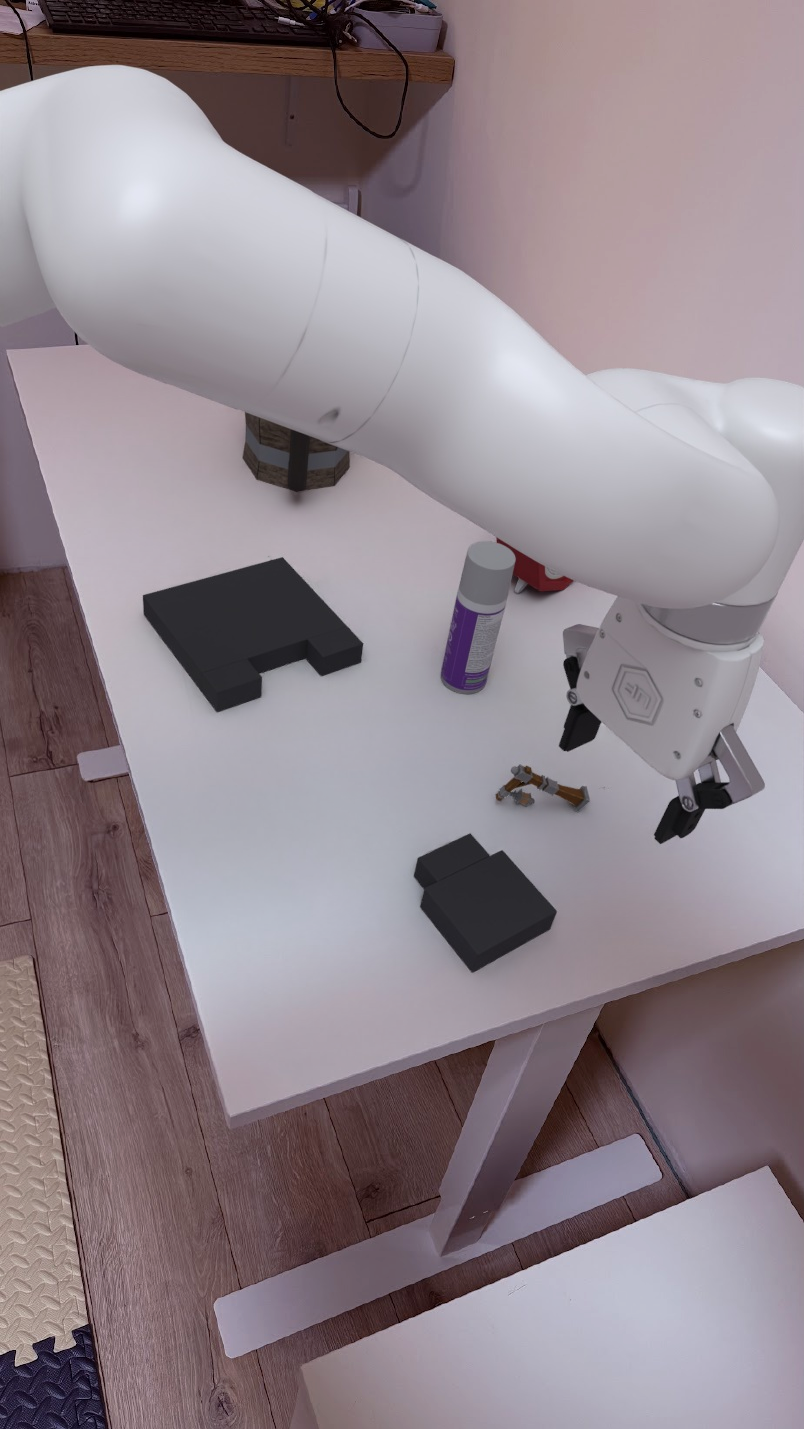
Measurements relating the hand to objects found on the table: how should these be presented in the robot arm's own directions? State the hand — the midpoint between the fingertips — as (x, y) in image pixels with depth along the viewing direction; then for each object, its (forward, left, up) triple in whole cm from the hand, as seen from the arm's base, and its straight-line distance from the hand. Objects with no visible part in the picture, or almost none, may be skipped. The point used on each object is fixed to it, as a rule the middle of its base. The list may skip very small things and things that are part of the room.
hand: (621, 787), depth 72 cm
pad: (-6, +5, -15) cm, 17 cm away
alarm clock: (+29, +38, -16) cm, 50 cm away
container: (+10, +27, -16) cm, 33 cm away
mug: (+14, +67, -16) cm, 70 cm away
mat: (-6, +42, -16) cm, 45 cm away
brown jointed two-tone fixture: (+6, +10, -16) cm, 20 cm away
